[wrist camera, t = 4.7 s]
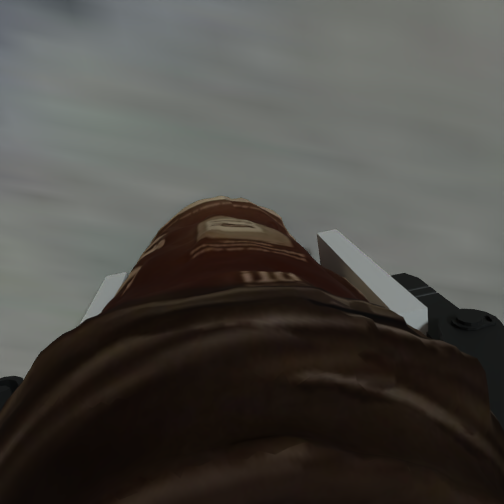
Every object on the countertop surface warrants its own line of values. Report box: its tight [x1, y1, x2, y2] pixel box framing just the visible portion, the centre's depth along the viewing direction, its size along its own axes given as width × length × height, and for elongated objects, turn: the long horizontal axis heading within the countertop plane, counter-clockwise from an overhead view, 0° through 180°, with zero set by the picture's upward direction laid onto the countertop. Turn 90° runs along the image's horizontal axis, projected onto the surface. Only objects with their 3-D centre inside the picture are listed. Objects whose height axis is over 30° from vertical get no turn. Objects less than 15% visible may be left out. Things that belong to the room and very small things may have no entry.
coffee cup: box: [0, 196, 504, 504], centre depth 10 cm, size 9×8×13 cm
